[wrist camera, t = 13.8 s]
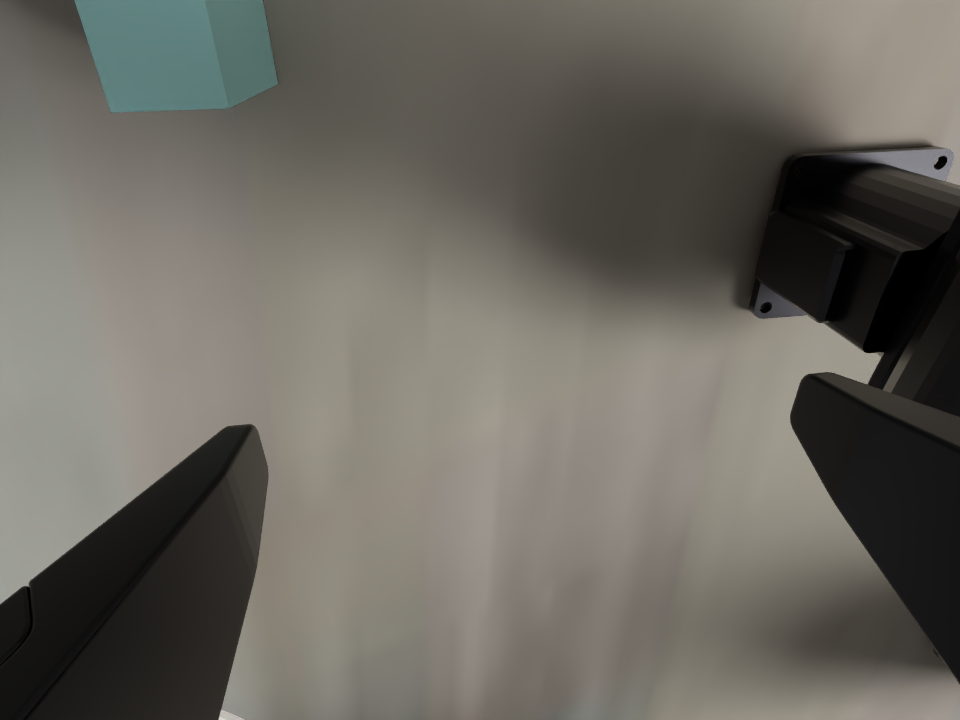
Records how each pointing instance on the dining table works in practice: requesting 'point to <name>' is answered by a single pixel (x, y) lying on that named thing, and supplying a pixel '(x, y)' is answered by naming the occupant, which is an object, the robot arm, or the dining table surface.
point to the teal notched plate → (178, 52)
